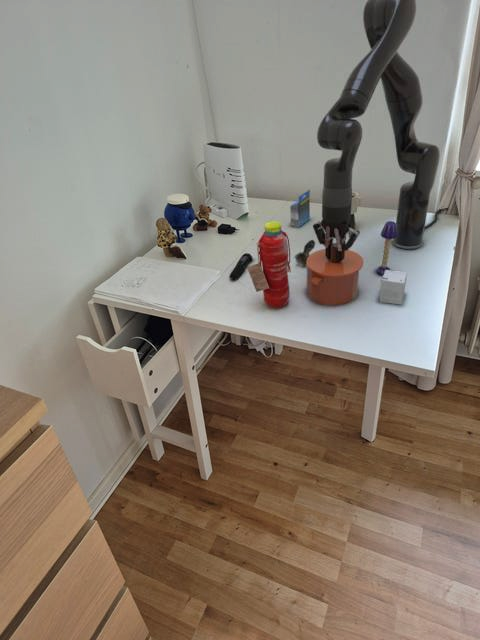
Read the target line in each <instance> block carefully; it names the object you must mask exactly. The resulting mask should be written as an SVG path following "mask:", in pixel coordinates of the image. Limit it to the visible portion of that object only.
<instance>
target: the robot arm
mask: <svg viewBox="0 0 480 640" xmlns="http://www.w3.org/2000/svg"><path fill="white" fill-rule="evenodd" d="M416 14H417V0H367V1H366V3H365V4H364V8H363V12H362V22H363V28H364V33H365V36H366V39H367V43H368V46H369V48H370V51H369V52H368V53H366V55H365V56H364V57H362V59H361V60H360V61H359V62H358V63H357V65H356V66H355V67H354V68H353V69H352V71H351V72H350V74H349V75H348V76H347V79H346V81H345V83H344V86H343V89H342V91H341V93H340V95H339V98H338V99H337V100H336V101H335V103H334V104H333V105H332V106H331V108H330V109H329V110H328V111H327V112H326V114H325V115H324V117H323V118H322V119H321V121H320V123H319V125H318V127H317V131H316V139H317V144H318V145H319V147H320V148H322V149H325V150H333V151H340V152H341V153H340V154H341V155H340V157H334V158H330V159H327V160H326V161H325V163H324V165H323V186H322V193H321V194H322V195H321V218H322V219H321V221H320V220H319V221H316V222H315V223H313V225H312V229H313V231H314V233H315V236H316V239H317V241H318V243H319V245H323V246H324V249H325V256H326V257H327V259H328V260H330V245H331V244H332V243H334V239H335V243H337V248H338V250H337V262H339V263H340V262H341V261H342V260H343V259H344V257H345V251H347V250H350V249H351V248H352V247H353V245H354V243H355V242H356V240H357V239H358V237H359V236H360V234H361V233H360V231H361V230H359V229H357V230H355V228H354V229H352V228H351V224H350V218H351V205H352V192H353V186H352V185H353V169H354V165H355V161H356V158H357V153H358V151H359V147H360V145H361V143H362V139H363V126H362V125H361V122H359V120H357V119H355V118H360V117H361V116H363V115H364V114H365V113H366V111H367V108H368V106H369V104H370V103H371V99H372V97H373V95H374V93H375V91H376V88H377V86H378V84H379V81H380V82H381V86H382V89H383V95H384V99H385V100H384V101H385V103H386V108H387V111H388V115H389V117H390V118H389V119H390V122H391V128H392V132H393V136H394V143H395V145H394V146H395V152H396V159H397V164H398V166H399V168H400V169H401V170H402V171H404V172H406V173H408V174H413V175H414V178H413V181H408V182H405V183H403V184H402V185H401V186H400V187H399V195H398V203H397V212H396V220H395V223H396V227H397V237H396V238H394V239H392V244H393V245H394V247H396V248H399V249H402V250H416V249H419V248H420V247H423V246H422V245H423V239H424V232H425V230H426V229H428V228H430V227H431V226H433V225H434V224H435V223H436V222H437V220H438V216H439V213H441V211H443V210H445V209H446V208H444V209H440V208H439V209H438V210H437V211H436V212H435V214H434V219H433V220H432V221H431V222H430V223H429V224H427V225H426V221H427V217H428V209H429V203H430V198H431V192H432V189H433V187H434V185H435V181H436V178H437V172H438V168H439V163H440V159H441V153H440V148H439V146H437V145H436V144H433V143H429V142H423V141H419V140H418V138H417V136H416V130H415V124H416V122H417V119H418V117H419V115H420V112H421V111H422V107H423V104H424V98H423V91H422V86H421V80H420V78H419V75H418V74H417V72H416V71H415V70H414V68H413V67H412V65H410V64H409V63H408V62H407V61H406V60H405V59H404V58H403V56H402V55H401V54H400V53H399V52H398V51H399V49H400V47H401V45H402V44H403V42H404V40H405V39H406V37H407V36H408V34H409V33H410V31H411V29H412V27H413V24H414V22H415V20H416ZM347 234H348V239H347ZM346 240H347V241H346Z"/></svg>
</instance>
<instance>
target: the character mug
mask: <svg viewBox="0 0 480 640" xmlns="http://www.w3.org/2000/svg"><path fill="white" fill-rule="evenodd" d="M361 205H362V197H361V196H359V194H358V192H356V191H352V205H351V218H350V224H351V228H352V229H354V230H355V228H356V219H355V217H356V216H355V214H357V212H358V207H360V206H361Z"/></svg>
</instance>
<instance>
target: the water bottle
mask: <svg viewBox="0 0 480 640" xmlns="http://www.w3.org/2000/svg"><path fill="white" fill-rule="evenodd" d="M256 247H257V248H256V250H257V262H258V263H255V264H252V265H250V266H246V269H247V272H248V274H249V276H250V279H251V282H252V284H253V287H254V290H255V292H256V293H258V292H261V291H263V300H264V302H265V304H267V306H269V307H270V308H275V309H279V308H282V307H285V306H286V304H287V303H288V301H289V299H290V283H289V275H288V273H291V271H292V270H291V265H290V263H291V247H290V239H289V236H288V234H287V233H286V232H285V231H284V230H282V224H281V222H279V221H277V220H273V221H268V222H266V223H265V224H264V231H263V233H262V234H261V237H260V238H259V239H258V241H257V243H256Z"/></svg>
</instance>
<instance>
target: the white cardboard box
mask: <svg viewBox="0 0 480 640" xmlns="http://www.w3.org/2000/svg"><path fill="white" fill-rule="evenodd" d="M407 276H408V272H406V271H398V270H391V269H390V270H385V273H384V275H382V278H381V279H380V291H379V302H380V303H385V304H394V305H399V306H401V305H402V304H403V300H404V296H405V292H406V285H407Z"/></svg>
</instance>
